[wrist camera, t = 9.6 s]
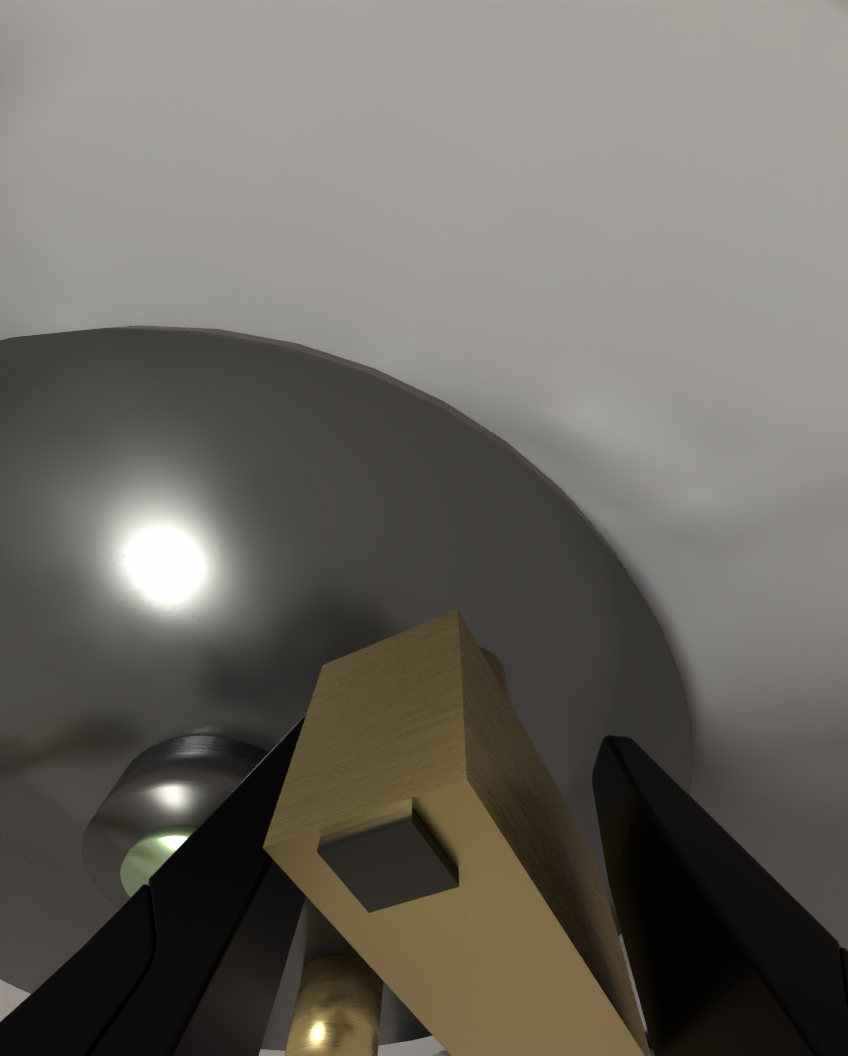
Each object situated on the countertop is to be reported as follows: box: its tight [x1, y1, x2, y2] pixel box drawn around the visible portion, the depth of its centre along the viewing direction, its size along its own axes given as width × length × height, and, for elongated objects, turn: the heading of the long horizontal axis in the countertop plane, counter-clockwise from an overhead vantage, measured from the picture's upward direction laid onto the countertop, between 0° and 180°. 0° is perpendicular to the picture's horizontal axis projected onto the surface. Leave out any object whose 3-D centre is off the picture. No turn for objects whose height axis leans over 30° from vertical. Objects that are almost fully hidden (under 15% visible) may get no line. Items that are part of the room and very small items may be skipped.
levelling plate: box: [0, 326, 692, 1056], centre depth 12 cm, size 22×22×3 cm
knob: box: [263, 610, 651, 1056], centre depth 8 cm, size 6×2×5 cm, turn 27°
